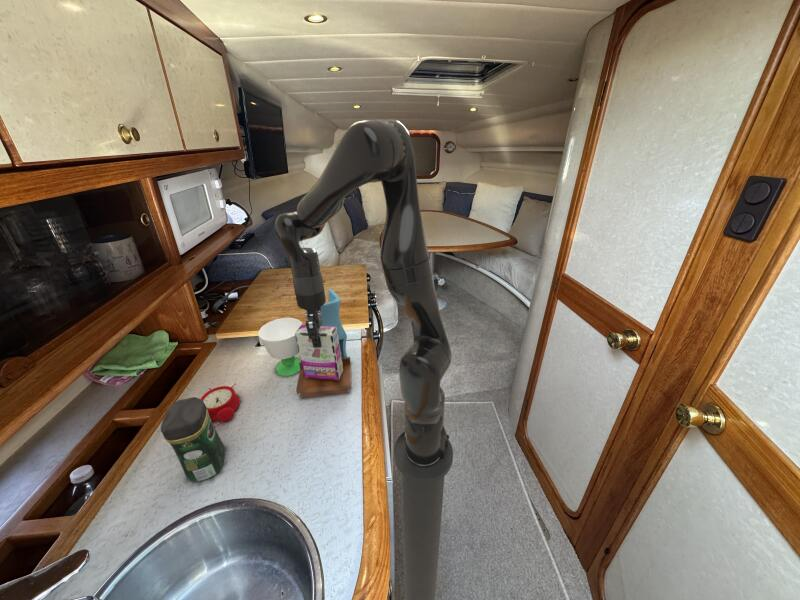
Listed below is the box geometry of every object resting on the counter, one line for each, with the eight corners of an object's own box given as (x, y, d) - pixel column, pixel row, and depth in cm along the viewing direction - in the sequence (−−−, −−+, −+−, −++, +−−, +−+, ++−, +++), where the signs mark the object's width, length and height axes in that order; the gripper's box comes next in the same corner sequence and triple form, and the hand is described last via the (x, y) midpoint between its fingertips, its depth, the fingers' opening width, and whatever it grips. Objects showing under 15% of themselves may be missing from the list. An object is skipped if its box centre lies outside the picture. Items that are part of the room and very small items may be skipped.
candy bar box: (344, 369, 98) (338, 325, 90) (339, 381, 93) (332, 335, 86) (310, 367, 99) (301, 323, 92) (303, 378, 95) (293, 333, 87)
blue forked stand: (339, 349, 116) (331, 288, 104) (350, 364, 108) (342, 300, 97) (313, 358, 112) (302, 295, 100) (322, 374, 104) (310, 308, 92)
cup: (274, 387, 99) (263, 346, 92) (264, 363, 109) (253, 325, 102) (316, 370, 106) (308, 331, 98) (303, 350, 116) (295, 313, 108)
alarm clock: (240, 379, 97) (228, 407, 83) (244, 397, 99) (233, 427, 85) (203, 386, 95) (184, 415, 81) (208, 404, 96) (190, 436, 82)
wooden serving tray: (351, 372, 105) (349, 357, 102) (351, 394, 96) (349, 378, 93) (302, 377, 103) (299, 362, 100) (298, 400, 94) (294, 384, 91)
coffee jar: (193, 452, 79) (166, 398, 70) (227, 443, 81) (205, 389, 73) (183, 488, 71) (151, 432, 62) (222, 477, 73) (196, 421, 65)
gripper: (321, 299, 77) (330, 354, 85) (325, 276, 89) (332, 326, 97) (290, 302, 76) (301, 357, 84) (298, 278, 88) (308, 328, 96)
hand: (318, 340), depth 91 cm, fingers closed on candy bar box, 5 cm apart
